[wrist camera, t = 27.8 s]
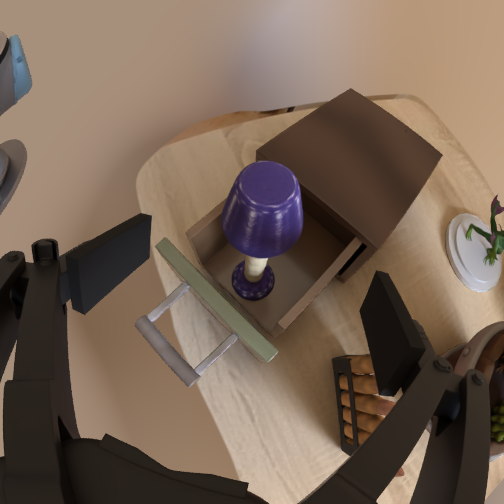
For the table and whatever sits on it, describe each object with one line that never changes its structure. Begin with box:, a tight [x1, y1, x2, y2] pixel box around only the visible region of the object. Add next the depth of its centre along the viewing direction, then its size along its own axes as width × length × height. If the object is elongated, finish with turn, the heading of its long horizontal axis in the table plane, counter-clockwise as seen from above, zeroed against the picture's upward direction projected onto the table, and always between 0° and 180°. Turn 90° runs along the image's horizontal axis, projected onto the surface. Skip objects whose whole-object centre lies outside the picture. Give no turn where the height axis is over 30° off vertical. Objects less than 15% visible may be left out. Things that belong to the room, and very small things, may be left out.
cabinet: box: [256, 89, 443, 283], centre depth 30 cm, size 17×14×10 cm
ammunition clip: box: [332, 354, 404, 477], centre depth 20 cm, size 11×2×12 cm, turn 6°
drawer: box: [135, 190, 363, 387], centre depth 26 cm, size 22×13×8 cm, turn 135°
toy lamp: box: [221, 161, 303, 301], centre depth 21 cm, size 5×5×17 cm
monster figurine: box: [445, 195, 504, 292], centre depth 28 cm, size 12×12×10 cm
